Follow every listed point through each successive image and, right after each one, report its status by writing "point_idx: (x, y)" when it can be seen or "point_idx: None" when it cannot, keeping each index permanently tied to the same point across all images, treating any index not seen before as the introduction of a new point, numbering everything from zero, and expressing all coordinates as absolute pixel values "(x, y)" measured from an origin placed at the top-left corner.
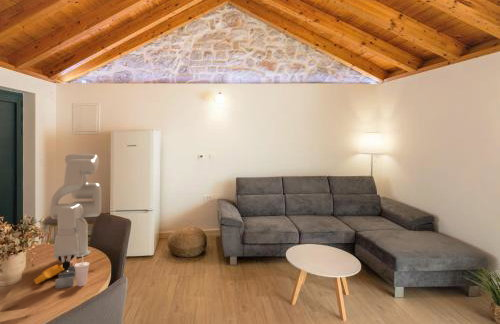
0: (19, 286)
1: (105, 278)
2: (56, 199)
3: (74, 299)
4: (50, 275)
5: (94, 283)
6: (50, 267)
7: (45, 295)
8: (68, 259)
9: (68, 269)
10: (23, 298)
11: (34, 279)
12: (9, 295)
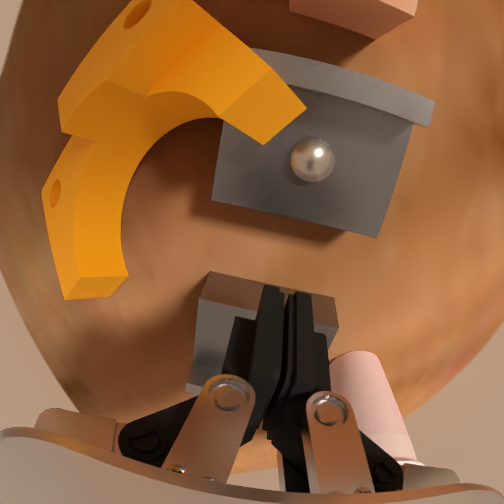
0: (9, 177)
1: (483, 346)
2: None
3: (274, 453)
4: (141, 139)
5: (410, 381)
6: (99, 86)
7: (161, 382)
8: (289, 472)
9: (335, 96)
10: (78, 350)
11: (42, 197)
12: (14, 280)
